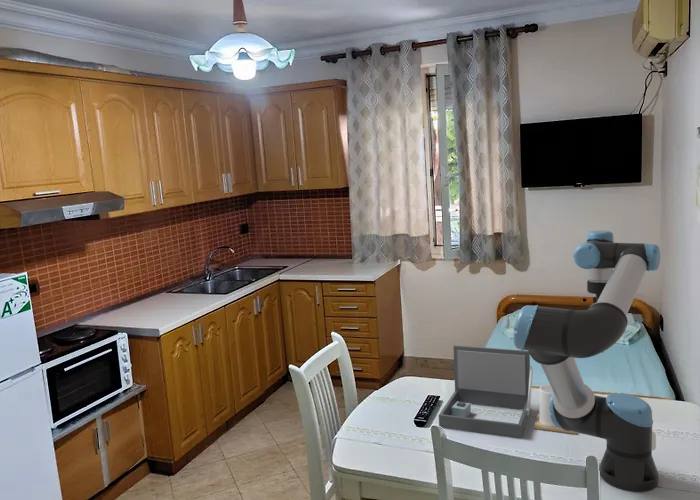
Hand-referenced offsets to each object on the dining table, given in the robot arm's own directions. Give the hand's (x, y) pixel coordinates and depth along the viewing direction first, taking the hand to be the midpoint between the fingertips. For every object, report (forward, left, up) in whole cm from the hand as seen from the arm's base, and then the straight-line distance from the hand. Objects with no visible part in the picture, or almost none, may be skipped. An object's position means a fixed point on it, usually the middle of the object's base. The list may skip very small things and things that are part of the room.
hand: (599, 345), depth 185 cm
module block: (+5, +47, -32) cm, 57 cm away
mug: (+8, +14, -31) cm, 35 cm away
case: (+5, +38, -32) cm, 50 cm away
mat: (+8, +14, -32) cm, 35 cm away
